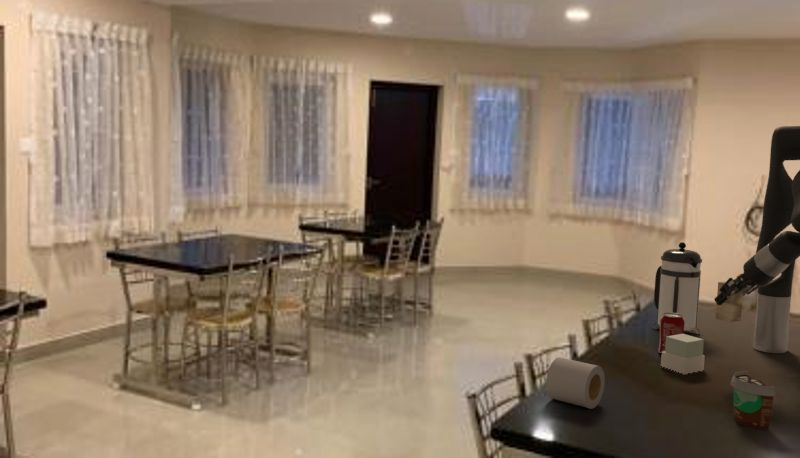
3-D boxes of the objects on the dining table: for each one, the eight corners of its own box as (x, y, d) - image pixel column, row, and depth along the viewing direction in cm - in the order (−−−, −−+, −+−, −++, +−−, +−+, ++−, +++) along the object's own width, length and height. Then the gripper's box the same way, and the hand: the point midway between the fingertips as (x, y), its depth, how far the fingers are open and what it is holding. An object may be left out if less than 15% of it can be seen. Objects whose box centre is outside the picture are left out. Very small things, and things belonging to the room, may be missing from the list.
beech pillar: (726, 317, 215) (728, 281, 214) (740, 320, 211) (743, 283, 210) (715, 318, 213) (718, 282, 211) (730, 322, 209) (732, 285, 208)
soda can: (683, 358, 229) (686, 317, 228) (659, 356, 231) (662, 316, 229) (680, 352, 236) (683, 312, 235) (656, 350, 237) (659, 311, 236)
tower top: (681, 349, 223) (682, 333, 222) (702, 355, 217) (703, 339, 216) (665, 352, 219) (666, 336, 218) (686, 358, 213) (687, 342, 213)
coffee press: (705, 330, 265) (711, 241, 262) (694, 339, 252) (701, 246, 248) (652, 322, 275) (658, 237, 271) (640, 331, 261) (645, 241, 258)
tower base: (680, 364, 224) (681, 348, 224) (703, 371, 217) (704, 355, 217) (660, 367, 220) (661, 351, 219) (684, 375, 213) (685, 359, 213)
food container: (717, 412, 183) (721, 370, 182) (743, 412, 184) (746, 370, 183) (745, 431, 171) (748, 387, 170) (772, 431, 172) (776, 387, 170)
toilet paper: (544, 403, 186) (547, 361, 185) (565, 393, 194) (567, 353, 193) (583, 413, 180) (586, 370, 179) (603, 403, 188) (605, 362, 187)
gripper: (775, 250, 207) (731, 288, 219) (741, 253, 200) (697, 292, 211) (792, 274, 203) (747, 310, 215) (758, 278, 196) (713, 315, 207)
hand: (723, 301), depth 213 cm, fingers closed on beech pillar, 4 cm apart
